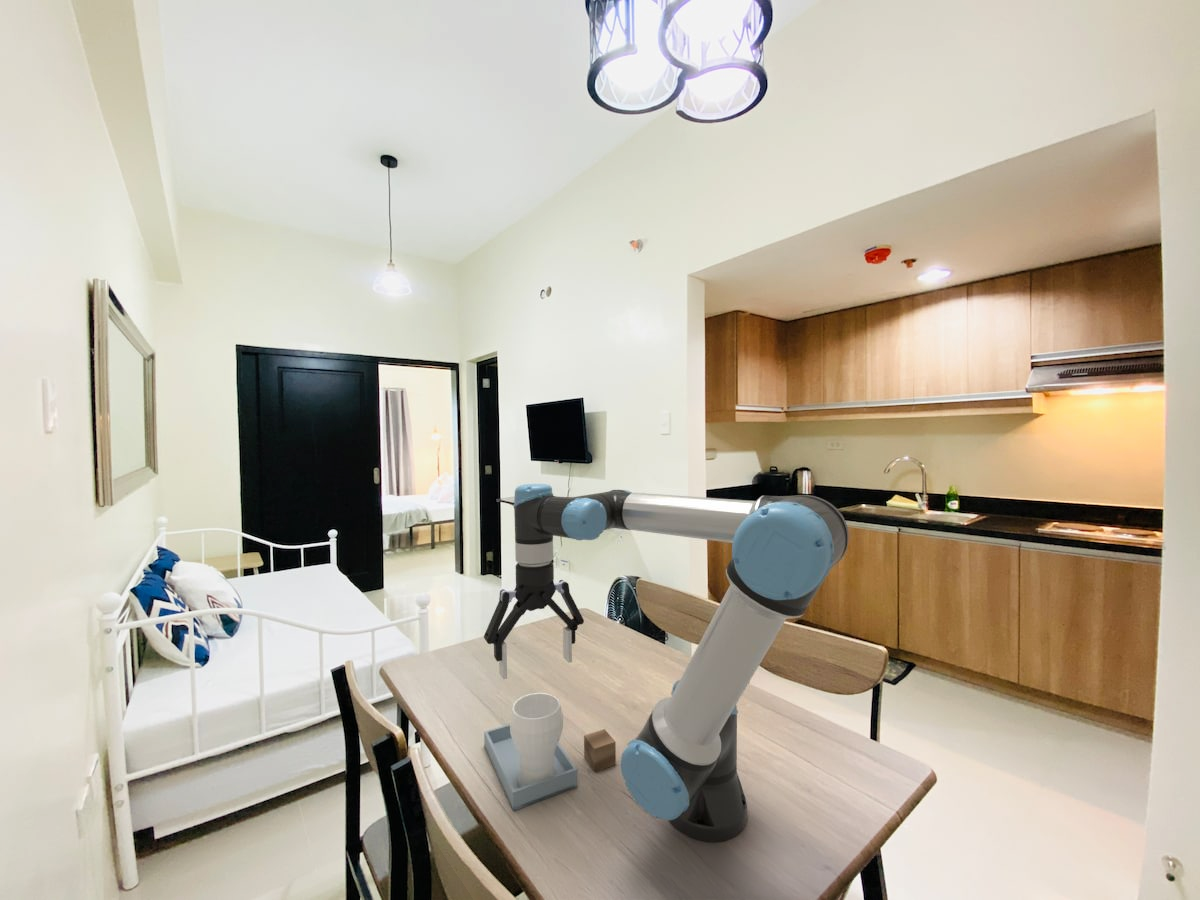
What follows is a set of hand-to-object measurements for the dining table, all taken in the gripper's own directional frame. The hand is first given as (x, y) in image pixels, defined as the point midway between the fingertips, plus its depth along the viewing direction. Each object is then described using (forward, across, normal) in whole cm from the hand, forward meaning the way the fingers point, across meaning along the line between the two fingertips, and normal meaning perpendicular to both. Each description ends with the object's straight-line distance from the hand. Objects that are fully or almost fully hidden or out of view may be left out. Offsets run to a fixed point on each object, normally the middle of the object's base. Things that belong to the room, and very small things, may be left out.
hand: (536, 667), depth 96 cm
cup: (+23, 0, 0) cm, 23 cm away
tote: (+23, 0, -6) cm, 24 cm away
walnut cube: (+24, -14, 0) cm, 27 cm away
